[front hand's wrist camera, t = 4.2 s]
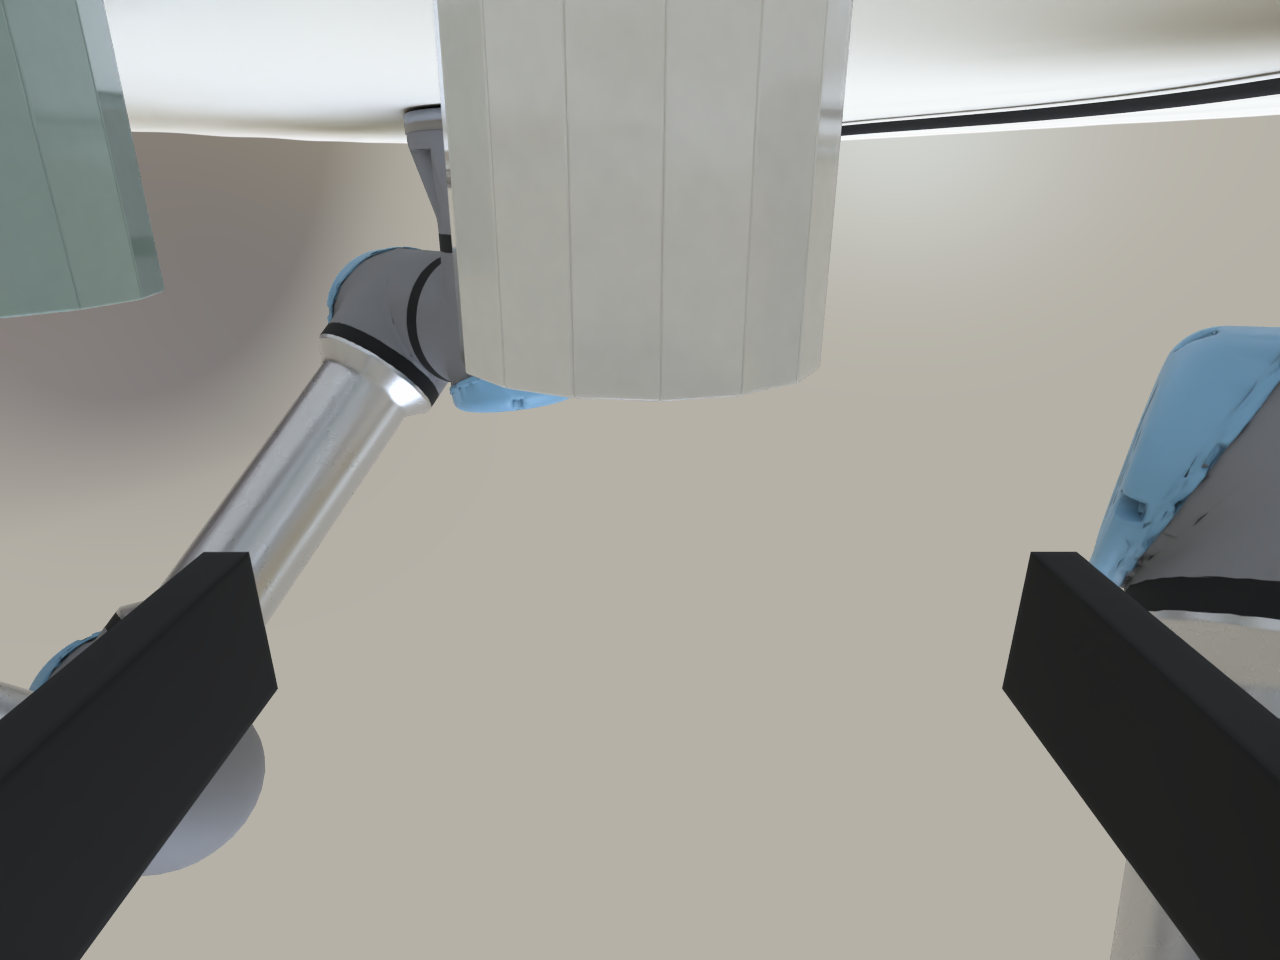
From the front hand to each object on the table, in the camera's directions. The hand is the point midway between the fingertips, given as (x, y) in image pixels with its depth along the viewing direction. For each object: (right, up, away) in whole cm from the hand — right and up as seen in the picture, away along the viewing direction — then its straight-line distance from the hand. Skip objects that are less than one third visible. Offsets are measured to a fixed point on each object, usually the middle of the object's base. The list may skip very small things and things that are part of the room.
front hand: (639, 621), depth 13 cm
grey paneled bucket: (0, +15, +5) cm, 16 cm away
